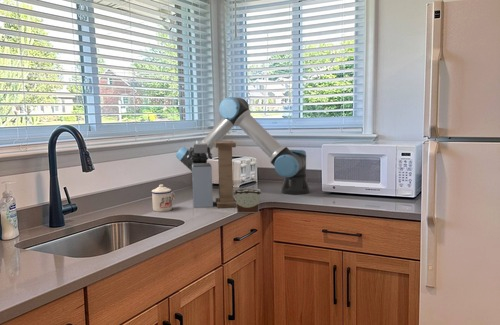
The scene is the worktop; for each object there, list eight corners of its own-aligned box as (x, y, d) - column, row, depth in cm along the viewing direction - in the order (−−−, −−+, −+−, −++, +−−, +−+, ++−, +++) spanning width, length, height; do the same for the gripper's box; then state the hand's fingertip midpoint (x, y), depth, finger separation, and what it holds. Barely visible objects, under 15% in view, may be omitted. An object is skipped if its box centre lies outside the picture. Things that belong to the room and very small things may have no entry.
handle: (193, 149, 222) (193, 141, 222) (205, 149, 223) (205, 141, 222) (194, 153, 203) (194, 144, 203) (207, 152, 204) (207, 144, 204)
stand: (215, 202, 216) (214, 141, 213) (233, 201, 218) (232, 141, 214) (217, 208, 203) (215, 143, 199) (237, 207, 204) (235, 142, 200)
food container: (262, 209, 198) (262, 187, 197) (261, 212, 192) (261, 190, 191) (235, 209, 199) (235, 187, 198) (233, 212, 193) (233, 190, 192)
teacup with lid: (160, 212, 196) (159, 187, 194) (148, 210, 201) (147, 185, 200) (181, 208, 205) (180, 183, 203) (168, 205, 210) (167, 181, 209)
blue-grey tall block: (193, 202, 216) (191, 163, 214) (211, 202, 217) (210, 162, 215) (193, 207, 205) (192, 166, 203) (212, 206, 206) (211, 165, 204)
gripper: (214, 168, 235) (216, 149, 213) (185, 169, 233) (184, 150, 211) (213, 155, 238) (215, 135, 216) (184, 156, 236) (183, 136, 214)
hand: (200, 143), depth 214 cm, fingers closed on handle, 2 cm apart
